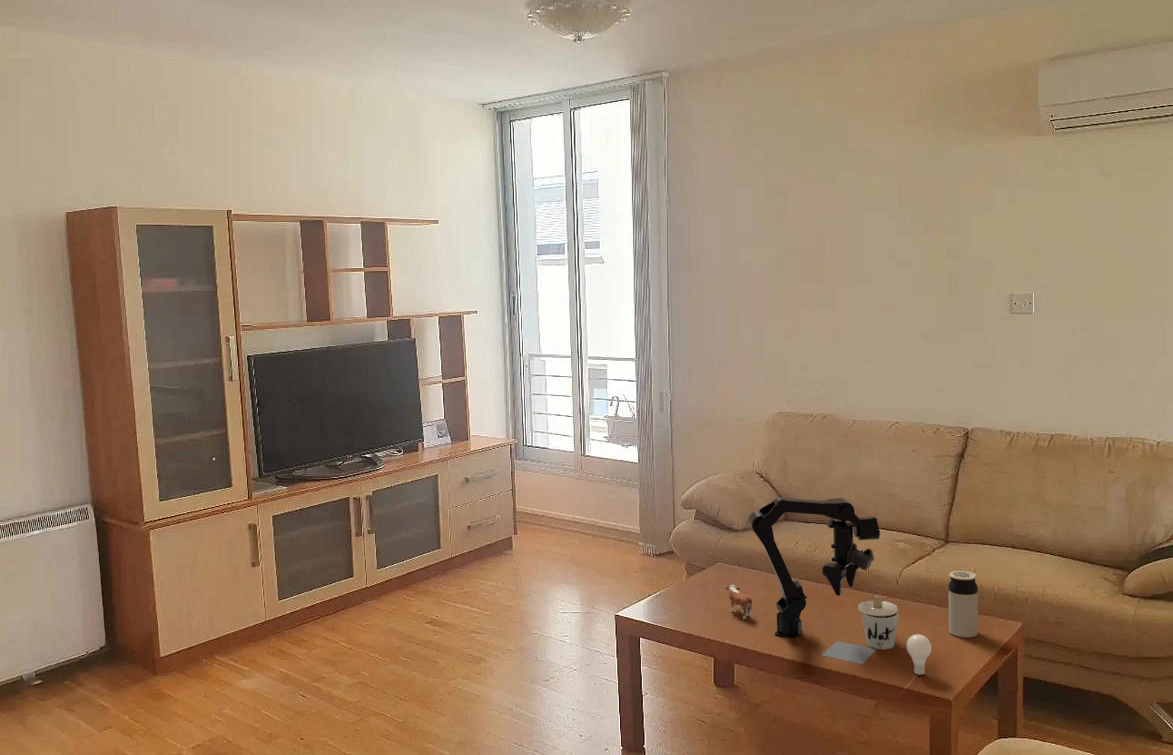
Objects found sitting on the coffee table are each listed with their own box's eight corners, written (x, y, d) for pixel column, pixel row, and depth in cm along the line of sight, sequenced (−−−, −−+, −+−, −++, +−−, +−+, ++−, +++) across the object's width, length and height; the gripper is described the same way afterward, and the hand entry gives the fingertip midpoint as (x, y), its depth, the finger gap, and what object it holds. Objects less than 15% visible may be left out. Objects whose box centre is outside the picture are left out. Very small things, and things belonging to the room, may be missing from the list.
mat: (821, 656, 262) (821, 655, 262) (837, 642, 271) (837, 641, 271) (862, 665, 255) (862, 664, 255) (877, 650, 264) (877, 649, 264)
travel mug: (954, 638, 270) (954, 579, 268) (945, 628, 278) (944, 570, 276) (982, 637, 269) (981, 578, 268) (971, 627, 277) (971, 569, 276)
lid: (852, 612, 268) (852, 599, 268) (866, 600, 277) (866, 588, 276) (889, 619, 261) (889, 606, 261) (903, 607, 270) (902, 594, 269)
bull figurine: (735, 606, 306) (734, 582, 305) (755, 619, 293) (754, 594, 292) (723, 608, 304) (723, 584, 304) (743, 621, 292) (742, 596, 291)
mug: (862, 651, 264) (862, 617, 263) (860, 631, 279) (859, 599, 278) (900, 653, 262) (900, 619, 261) (896, 633, 276) (896, 601, 275)
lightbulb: (906, 678, 245) (905, 638, 244) (907, 668, 251) (906, 629, 250) (931, 680, 243) (931, 640, 242) (931, 671, 249) (931, 631, 248)
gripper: (856, 552, 265) (857, 605, 266) (881, 536, 279) (882, 586, 280) (820, 547, 272) (821, 598, 273) (846, 532, 286) (847, 580, 287)
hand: (844, 591), depth 278 cm, fingers open, 9 cm apart
